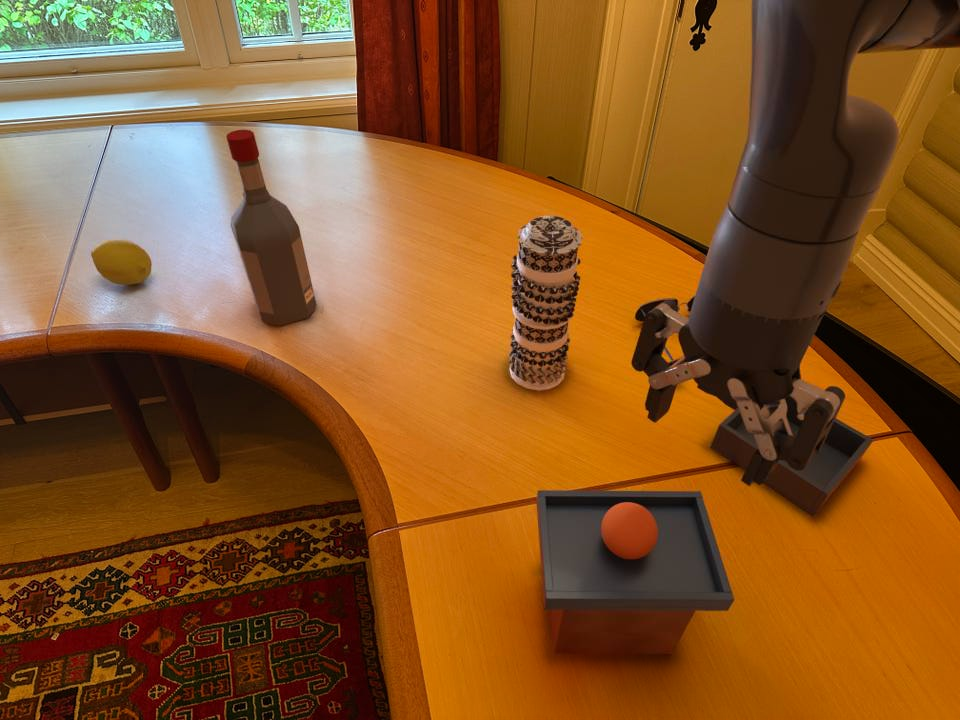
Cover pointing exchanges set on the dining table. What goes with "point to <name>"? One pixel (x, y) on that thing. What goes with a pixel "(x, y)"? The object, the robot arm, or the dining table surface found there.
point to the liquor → (269, 242)
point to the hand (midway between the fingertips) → (702, 445)
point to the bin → (821, 470)
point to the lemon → (122, 261)
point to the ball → (629, 530)
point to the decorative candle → (543, 301)
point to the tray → (629, 582)
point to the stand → (618, 631)
